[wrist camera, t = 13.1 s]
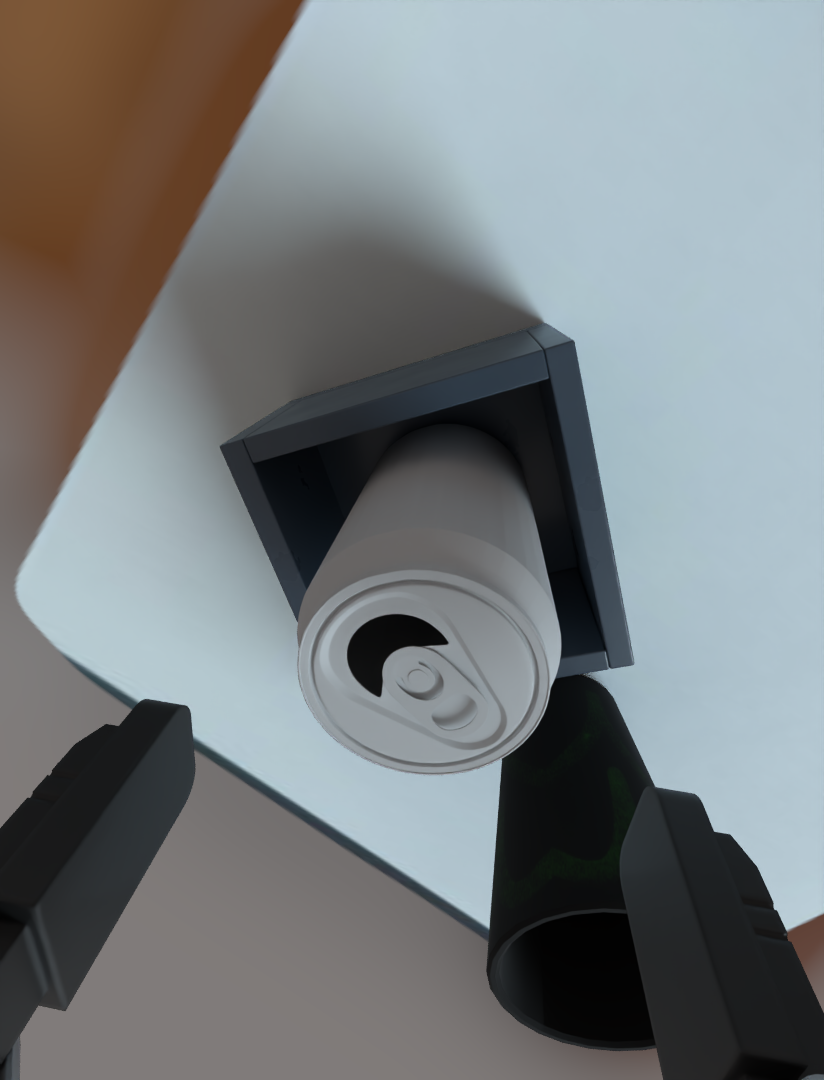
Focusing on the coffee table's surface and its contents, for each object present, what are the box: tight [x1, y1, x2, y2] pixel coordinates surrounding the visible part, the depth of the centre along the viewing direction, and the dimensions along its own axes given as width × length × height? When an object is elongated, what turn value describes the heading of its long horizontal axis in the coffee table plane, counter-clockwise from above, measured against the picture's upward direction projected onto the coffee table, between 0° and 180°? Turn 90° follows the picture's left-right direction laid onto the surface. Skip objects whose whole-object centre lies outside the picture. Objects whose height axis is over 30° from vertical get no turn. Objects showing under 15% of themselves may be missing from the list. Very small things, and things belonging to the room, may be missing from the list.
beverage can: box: [297, 424, 561, 775], centre depth 18 cm, size 6×6×12 cm
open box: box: [220, 323, 634, 678], centre depth 21 cm, size 11×11×7 cm
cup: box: [487, 675, 656, 1051], centre depth 23 cm, size 8×8×12 cm
